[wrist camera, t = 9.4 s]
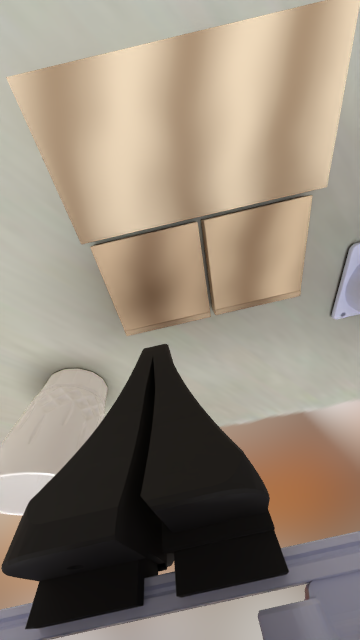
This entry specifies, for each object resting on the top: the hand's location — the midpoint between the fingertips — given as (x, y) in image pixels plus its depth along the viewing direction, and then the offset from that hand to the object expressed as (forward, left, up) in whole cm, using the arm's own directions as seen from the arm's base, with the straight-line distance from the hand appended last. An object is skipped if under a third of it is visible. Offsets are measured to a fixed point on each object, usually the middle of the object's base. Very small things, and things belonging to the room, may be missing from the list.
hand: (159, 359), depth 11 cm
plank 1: (0, -2, -8) cm, 8 cm away
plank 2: (-9, -2, -8) cm, 12 cm away
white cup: (+12, +9, -9) cm, 17 cm away
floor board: (-5, -10, -8) cm, 14 cm away
